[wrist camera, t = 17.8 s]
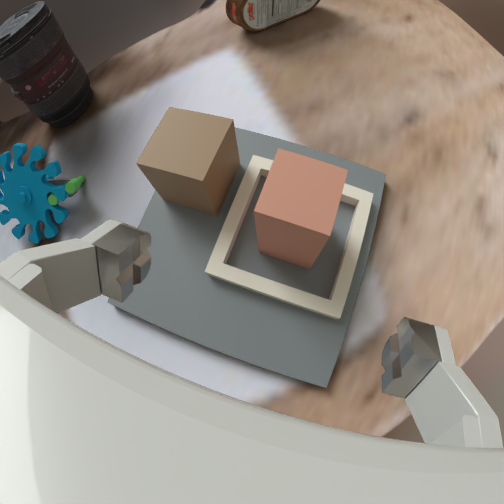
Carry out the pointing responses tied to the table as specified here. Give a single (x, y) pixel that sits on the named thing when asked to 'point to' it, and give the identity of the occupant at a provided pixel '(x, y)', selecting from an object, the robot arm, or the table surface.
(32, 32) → the camera lens
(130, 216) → the table surface
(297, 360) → the base plate
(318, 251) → the pillar block
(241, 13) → the tin
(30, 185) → the gear
